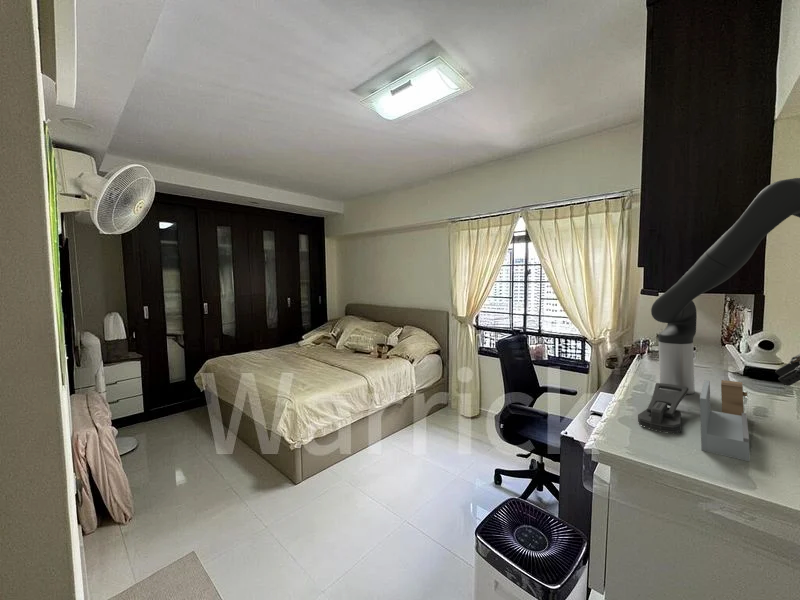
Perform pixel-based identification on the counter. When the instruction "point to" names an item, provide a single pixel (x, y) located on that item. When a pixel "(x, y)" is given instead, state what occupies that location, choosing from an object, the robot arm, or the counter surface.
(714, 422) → the board
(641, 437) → the counter surface
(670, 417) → the zipper pull
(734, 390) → the cabinet
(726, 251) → the robot arm
